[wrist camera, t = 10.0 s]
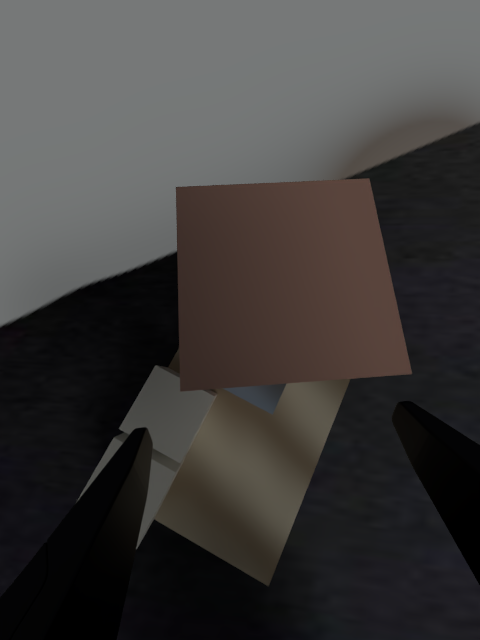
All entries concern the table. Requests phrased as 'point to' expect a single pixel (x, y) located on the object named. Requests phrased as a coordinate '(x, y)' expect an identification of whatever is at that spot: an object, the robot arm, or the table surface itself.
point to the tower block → (284, 285)
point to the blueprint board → (251, 470)
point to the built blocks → (162, 433)
